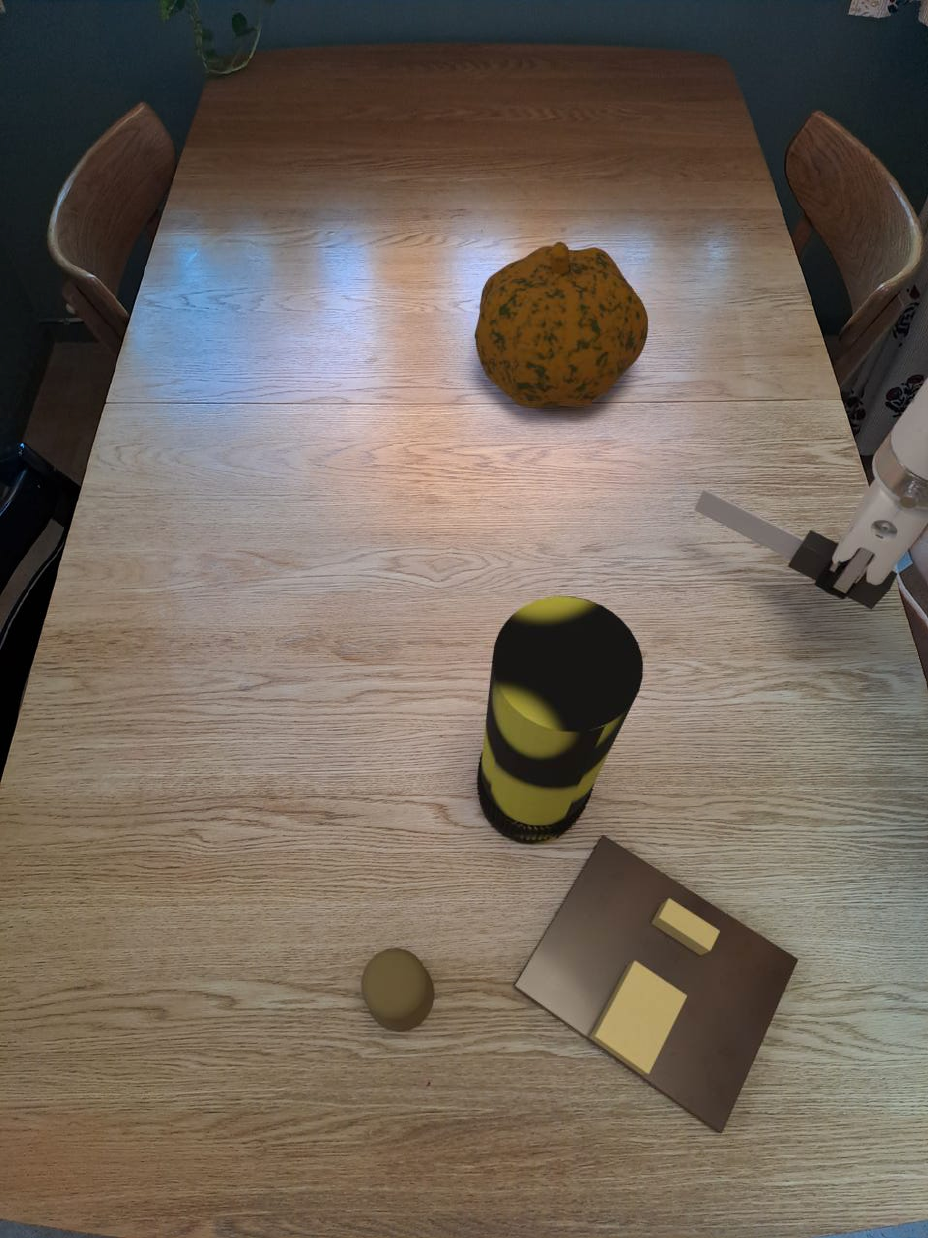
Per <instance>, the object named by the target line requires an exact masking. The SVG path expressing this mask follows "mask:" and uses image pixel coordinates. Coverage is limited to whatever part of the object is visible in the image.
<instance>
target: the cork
mask: <svg viewBox="0 0 928 1238" xmlns="http://www.w3.org/2000/svg"><path fill="white" fill-rule="evenodd" d="M360 985H361V995H362V997H363V1000H364V1002H365V1005H366V1006H367V1008H368V1010H369V1013H370V1015H371V1017H372V1018H373V1019H374V1021H375V1022H376V1023H377V1024H378V1025H379V1026H381V1028H384V1029H386V1030H387V1031H391V1032H396V1033H401V1032H408V1031H411V1030H413V1029H415V1028H417V1027H419V1026H420V1025H421V1024H422V1023H423V1022H424V1021H425V1020H426V1019H427V1018H428V1017H429V1014H430V1013H431V1010H432V1008H433V1006H434V1000H435V985H434V982H433V980H432V976H431V975H430V973H429V971H428V970H427V969H426V968H425V967H424V965H423V962H422V961H421V960H420V959H419V957H418V956H417V955H416V954H414V953H412V952H411V951H409V950H407V949H404V948H399V947H393V948H386V949H384V950H382V951H380V952H378V953H376V954H375V955H374V956H373V957H372V958H371V959H370V960H368V963H367V964H366V966H365V968H364V970H363V972H362V977H361V981H360Z"/></svg>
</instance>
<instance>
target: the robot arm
mask: <svg viewBox="0 0 928 1238" xmlns="http://www.w3.org/2000/svg"><path fill="white" fill-rule="evenodd" d="M871 468H872V469H871V470H872V474H873V476H874V477H873V478H874V479H873V481H872V482H871V484H870V485H869V486H868V488H867V490H866V492H865V493H864V495H863V496H862V498H861V500H860V501H859V503H858V505H857V506H856V508H855V510H854V512H853V514H852V516H851V518H850V520H849V522H848V524H847V525H846V528H845V530H844V531H843V534H842V536H841V538H840V540H839V543H838V546H837V548H836V551H835V553H834V555H833V557H832V560H833V561H832V560H831V561H830V562H829V564H828V565H827V566H826V568H825V569H824V570H823V572H822V573H821V574H820V576H819V577H818V578H817V580H816V581H815V582H814V585H815V587H816V588H819V589H820V590H822V591H824V592H825V593H827V594H829V595H831V596H833V597H835V598H838V599H840V600H845V599H846V598H848V597H847V596H848V594H849V593H850V592H851V591H852V590H853V588H854V587H855V586H856V585H857V584H858V582H859V581H860V580H861V578H862V576H863V575H864V574H865V573H866V571H867V582H869V583H871V584H873V585H878V584H881V583H882V582H883V581H884V580H885V578H886V577H887V576H888V574H889V573H890V572H891V571H893V569H894V568H895V567H896V566H897V565H898V563H899V562H900V561H901V559H902V558H903V557H904V556H905V554H906V553H907V552H908V550H910V548H911V547H912V545H913V544H914V543H915V542H916V540H917V539H918V537H919V536H920V535H921V533H922V532H923V531H924V530H925V528H926V526H927V525H928V377H927V378H926V379H925V381H924V382H923V384H922V385H921V387H920V388H919V390H918V391H917V392H916V394H915V396H914V397H913V399H911V401H910V402H909V404H908V405H907V407H906V408H905V410H904V411H903V412H902V414H901V416H899V419H898V420H897V421H896V423H895V424H894V426H893V427H892V429H890V432H889V433H888V434H887V436H886V437H885V439H884V440H883V442H882V443H881V444H880V446H879V448H878V449H877V450H876V452H875V453H874V454H873V458H872V463H871ZM846 560H847V561H849V563H848V564H847V563H845V562H844V561H846Z"/></svg>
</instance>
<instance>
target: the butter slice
mask: <svg viewBox="0 0 928 1238" xmlns="http://www.w3.org/2000/svg"><path fill="white" fill-rule="evenodd" d="M652 924H653V925H655V926H656V927H658V928H659V929H661V930H662V931H664V932H665V933H667V934H668V935H670V936H671V937H673V938H674V939H676V940H678V941H679V942H681V943H682V944H684V945H685V946H687V947H688V948H690V949H691V950H693V951H694V952H696V953H697V954H699V955H703V954H705V953H707V952H709V951H711V949H712V947H713V945H714V943H715V941H716V939H717V937H718V935H719V933H720V931H719V930H718V929H716V928H715V927H713V926H712V925H710V924H709V923H707V922H706V921H704V920H702V919H701V918H699V917H698V916H696V915H695V914H693V913H692V912H690V911H689V910H687V909H685V908H684V907H682V906H681V905H679V904H678V903H676V902H675V901H673V900H671V899H670V898H669V899H667V900H666V901H665V902H664V903H663V904H661V906H660V908H659V909H658V911H657V913H656V915H655V917H654V919H653V921H652Z"/></svg>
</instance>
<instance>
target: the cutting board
mask: <svg viewBox="0 0 928 1238" xmlns="http://www.w3.org/2000/svg"><path fill="white" fill-rule="evenodd" d="M669 898H670V899H671V900H673V901H675V902H676V903H678V904H679V905H681V906H682V907H684V908H685V909H687V910H689V911H690V912H692V913H693V914H695V915H696V916H698V917H699V918H701V919H702V920H704V921H706V922H707V923H709V924H710V925H712V926H713V927H715V928H716V929H718V930H719V931H720V933H719V935H718V937H717V939H716V941H715V943H714V945H713V947H712V949H711V951H709V952H707V953H705V954H703V955H699V954H697V953H696V952H694V951H693V950H691V949H690V948H688V947H687V946H685V945H684V944H682V943H681V942H679V941H678V940H676V939H674V938H673V937H671V936H670V935H668V934H667V933H665V932H664V931H662V930H661V929H659V928H658V927H656V926H655V925H653V924H652V921H653V919H654V917H655V915H656V913H657V911H658V909H659V908H660V906H661V904H663V903H664V902H665V901H666V900H667V899H669ZM633 961H637V962H638V963H640V964H641V965H643V966H644V967H646V968H647V969H649V970H650V971H652V972H653V973H655V974H656V975H658V976H659V977H661V978H662V979H663V980H665V981H666V982H668V983H669V984H671V985H672V986H674V987H675V988H677V989H678V990H680V991H681V992H683V993H684V994H686V995H687V998H686V1000H685V1002H684V1004H683V1006H682V1008H681V1010H680V1012H679V1014H678V1016H677V1018H676V1020H675V1022H674V1024H673V1026H672V1028H671V1030H670V1032H669V1034H668V1036H667V1038H666V1040H665V1042H664V1045H663V1047H662V1049H661V1051H660V1053H659V1055H658V1057H657V1059H656V1061H655V1063H654V1065H653V1067H652V1069H651V1071H650V1073H649V1074H639V1073H638V1072H636V1071H635V1070H634V1069H632V1068H631V1067H629V1066H628V1065H627V1064H625V1063H624V1062H622V1061H621V1060H620V1059H618V1058H617V1057H615V1056H614V1055H613V1054H611V1053H610V1052H608V1051H607V1050H606V1049H604V1048H603V1047H601V1046H600V1045H599V1044H597V1043H596V1042H594V1041H593V1040H592V1039H590V1035H591V1033H592V1032H593V1030H594V1028H595V1026H596V1024H597V1022H598V1020H599V1018H600V1017H601V1015H602V1013H603V1011H604V1009H605V1007H606V1005H607V1003H608V1001H609V1000H610V998H611V996H612V994H613V992H614V990H615V988H616V986H617V985H618V983H619V981H620V979H621V977H622V975H623V973H624V971H625V969H626V968H627V966H628V965H629V964H630V963H632V962H633ZM798 962H799V958H797V957H796V956H794V955H793V954H791V953H790V952H789V951H786V950H785V949H783V948H782V947H780V946H779V945H777V944H776V943H773V942H772V941H771V940H769V939H768V938H766V937H764V936H763V935H761V934H759V933H758V932H756V931H755V930H753V929H751V928H750V927H749V926H747V925H745V924H744V923H742V922H741V921H739V920H738V919H736V918H734V917H733V916H731V915H730V914H728V913H726V911H723V910H722V909H721V908H719V907H717V906H716V905H714V904H713V903H711V902H710V901H708V900H706V899H705V898H703V897H702V896H700V895H699V894H697V893H695V892H693V891H692V890H691V889H689V888H688V887H686V886H684V885H683V884H682V883H680V882H678V881H677V880H675V879H674V878H672V877H671V876H669V875H667V874H666V873H664V872H662V871H661V870H660V869H658V868H656V867H655V866H653V865H652V864H649V863H648V862H646V861H645V860H643V858H640V857H639V856H638V855H636V854H634V853H632V852H631V851H629V850H628V849H626V848H625V847H624V846H622V845H620V844H619V843H617V842H615V841H614V840H612V839H610V838H609V836H607V835H604V834H602V835H601V836H600V838H599V840H598V841H597V843H596V845H595V846H594V849H593V850H592V852H591V854H590V855H589V857H588V858H587V860H586V862H585V863H584V865H583V867H582V868H581V870H580V873H578V876H577V877H576V879H575V880H574V883H572V885H571V887H570V889H569V891H568V892H567V894H566V896H565V897H564V899H563V901H562V903H561V905H560V906H559V908H558V909H557V911H556V913H555V914H554V916H553V918H552V919H551V922H550V923H549V925H548V926H547V928H546V929H545V932H544V933H543V935H542V937H541V938H540V940H539V942H538V944H537V945H536V947H535V949H534V951H533V952H532V953H531V956H530V957H529V959H528V960H527V962H526V964H525V966H524V967H523V968H522V971H521V972H520V975H519V976H518V977H517V979H516V982H515V983H514V984H513V989H514V990H516V991H517V992H519V994H521V995H523V996H524V997H526V998H527V999H528V1000H530V1001H531V1002H533V1003H534V1004H536V1005H537V1006H538V1007H540V1008H541V1009H542V1010H544V1011H545V1012H547V1013H548V1014H549V1015H550V1016H552V1017H554V1018H555V1019H557V1020H558V1021H559V1022H561V1023H562V1024H563V1025H565V1026H566V1027H568V1029H570V1030H572V1031H573V1032H575V1033H576V1034H577V1035H579V1036H580V1037H582V1038H583V1039H584V1040H586V1042H588V1043H590V1044H591V1045H593V1046H594V1047H596V1048H597V1049H598V1050H600V1051H601V1052H603V1053H604V1054H605V1055H607V1056H608V1057H610V1058H611V1059H612V1060H614V1061H615V1062H617V1063H618V1064H620V1065H621V1066H623V1068H625V1069H627V1070H628V1071H629V1072H631V1073H632V1074H633V1075H634V1076H636V1077H638V1078H639V1079H640V1080H641V1081H643V1082H644V1083H646V1084H648V1085H649V1086H650V1087H652V1088H653V1089H654V1090H656V1091H657V1092H659V1093H660V1094H661V1095H663V1096H664V1097H665V1098H667V1099H668V1100H669V1101H671V1102H672V1103H674V1104H675V1105H677V1106H678V1107H680V1108H681V1109H683V1110H684V1111H685V1112H686V1113H688V1114H690V1115H691V1116H692V1117H694V1118H695V1119H696V1120H698V1121H700V1122H701V1123H702V1124H703V1125H705V1126H706V1127H707V1128H709V1129H710V1130H712V1131H713V1132H715V1133H717V1134H723V1132H724V1130H725V1127H726V1125H727V1123H728V1121H729V1118H730V1116H731V1114H732V1111H733V1109H734V1108H735V1105H736V1103H737V1101H738V1098H739V1096H740V1094H741V1092H742V1089H743V1087H744V1084H745V1082H746V1080H747V1077H748V1076H749V1073H750V1071H751V1069H752V1066H753V1064H754V1061H755V1059H756V1057H757V1055H758V1053H759V1050H760V1048H761V1046H762V1043H763V1041H764V1039H765V1037H766V1035H767V1032H768V1030H769V1027H770V1026H771V1023H772V1021H773V1018H774V1016H775V1014H776V1011H777V1009H778V1007H779V1005H780V1003H781V1000H782V998H783V995H784V994H785V991H786V989H787V986H788V984H789V982H790V980H791V977H792V975H793V973H794V971H795V968H796V966H797V964H798Z"/></svg>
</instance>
